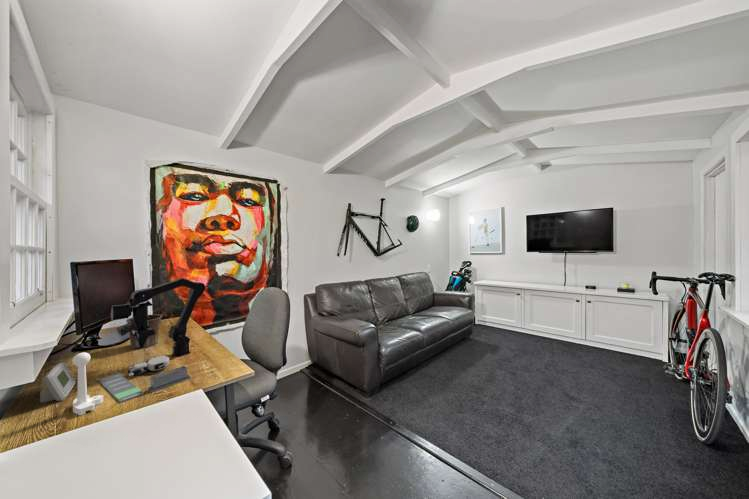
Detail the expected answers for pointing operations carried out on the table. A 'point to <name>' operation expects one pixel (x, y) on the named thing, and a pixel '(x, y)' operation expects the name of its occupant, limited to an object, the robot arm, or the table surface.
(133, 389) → the scale strip
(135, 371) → the robot toy
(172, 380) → the grey wedge block
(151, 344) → the plant pot
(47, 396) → the digital clock
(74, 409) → the joystick
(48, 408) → the table surface
